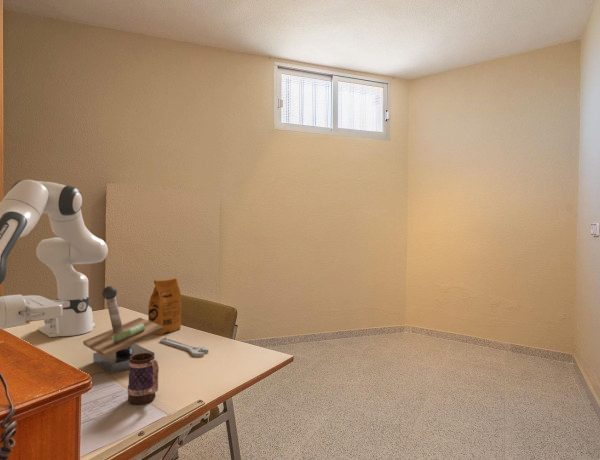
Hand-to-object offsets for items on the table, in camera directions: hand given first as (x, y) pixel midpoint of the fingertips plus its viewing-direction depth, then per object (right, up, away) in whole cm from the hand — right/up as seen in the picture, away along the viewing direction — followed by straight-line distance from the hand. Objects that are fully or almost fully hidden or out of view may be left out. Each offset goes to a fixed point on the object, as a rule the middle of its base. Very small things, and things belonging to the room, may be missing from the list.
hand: (68, 303), depth 122 cm
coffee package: (+14, -20, +46) cm, 52 cm away
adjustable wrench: (+28, -22, +26) cm, 44 cm away
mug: (+30, -23, -16) cm, 41 cm away
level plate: (+13, -13, +10) cm, 21 cm away
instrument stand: (+13, -22, +10) cm, 27 cm away
